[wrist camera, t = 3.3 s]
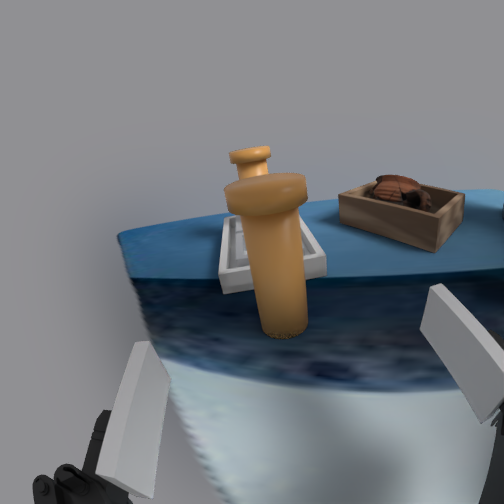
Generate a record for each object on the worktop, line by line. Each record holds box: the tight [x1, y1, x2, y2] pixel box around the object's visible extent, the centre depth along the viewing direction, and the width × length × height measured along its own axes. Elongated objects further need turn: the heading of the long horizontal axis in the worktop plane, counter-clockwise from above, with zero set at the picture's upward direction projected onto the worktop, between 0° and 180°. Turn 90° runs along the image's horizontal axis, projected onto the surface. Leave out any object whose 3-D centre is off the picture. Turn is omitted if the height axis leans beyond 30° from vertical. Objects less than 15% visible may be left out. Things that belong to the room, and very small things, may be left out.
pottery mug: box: [369, 175, 431, 212], centre depth 36 cm, size 12×9×8 cm
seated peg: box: [229, 146, 271, 180], centre depth 37 cm, size 5×5×12 cm
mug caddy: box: [338, 181, 465, 253], centre depth 36 cm, size 14×16×4 cm
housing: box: [218, 215, 327, 294], centre depth 36 cm, size 18×11×3 cm, turn 3°
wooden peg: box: [224, 173, 308, 339], centre depth 20 cm, size 5×5×12 cm
